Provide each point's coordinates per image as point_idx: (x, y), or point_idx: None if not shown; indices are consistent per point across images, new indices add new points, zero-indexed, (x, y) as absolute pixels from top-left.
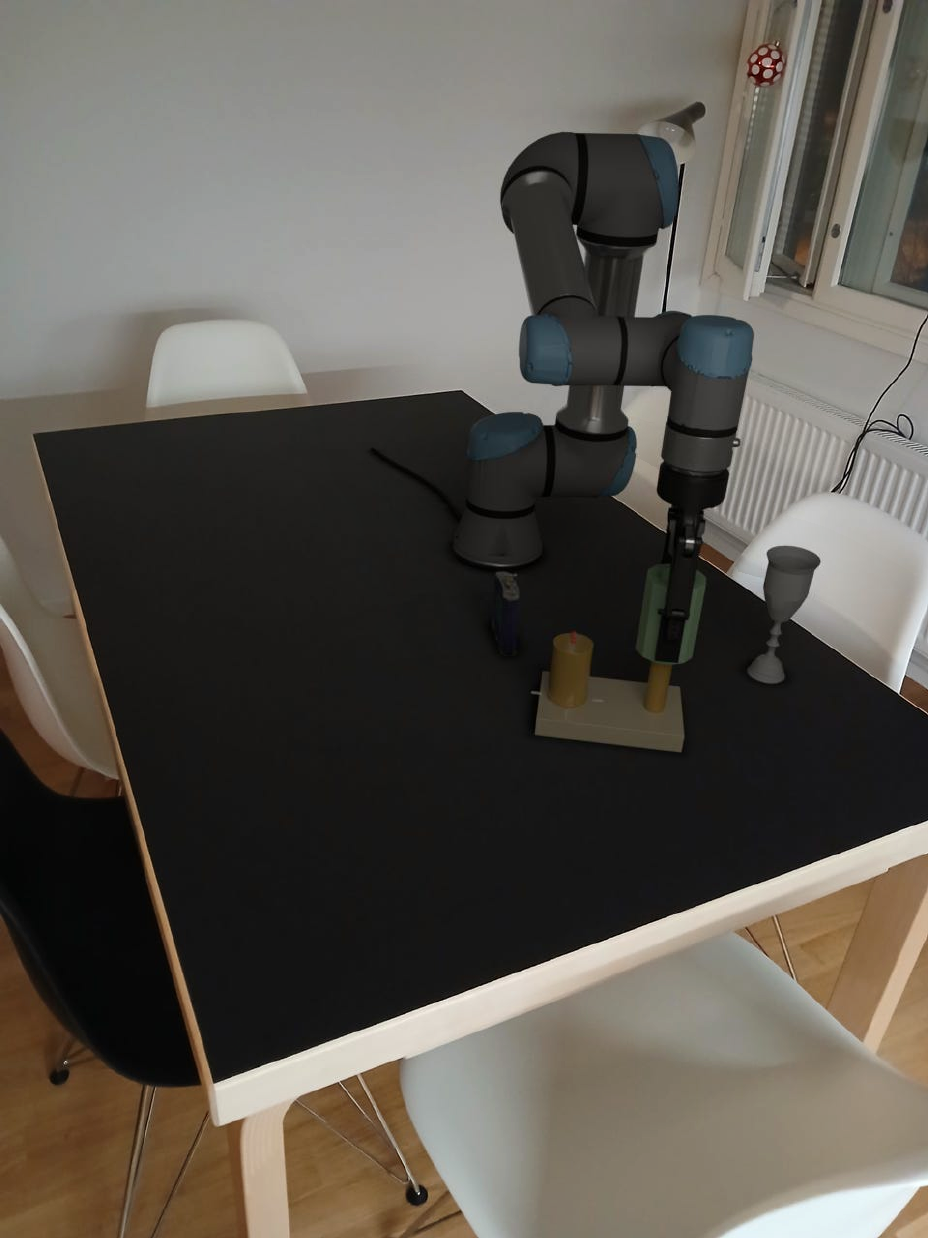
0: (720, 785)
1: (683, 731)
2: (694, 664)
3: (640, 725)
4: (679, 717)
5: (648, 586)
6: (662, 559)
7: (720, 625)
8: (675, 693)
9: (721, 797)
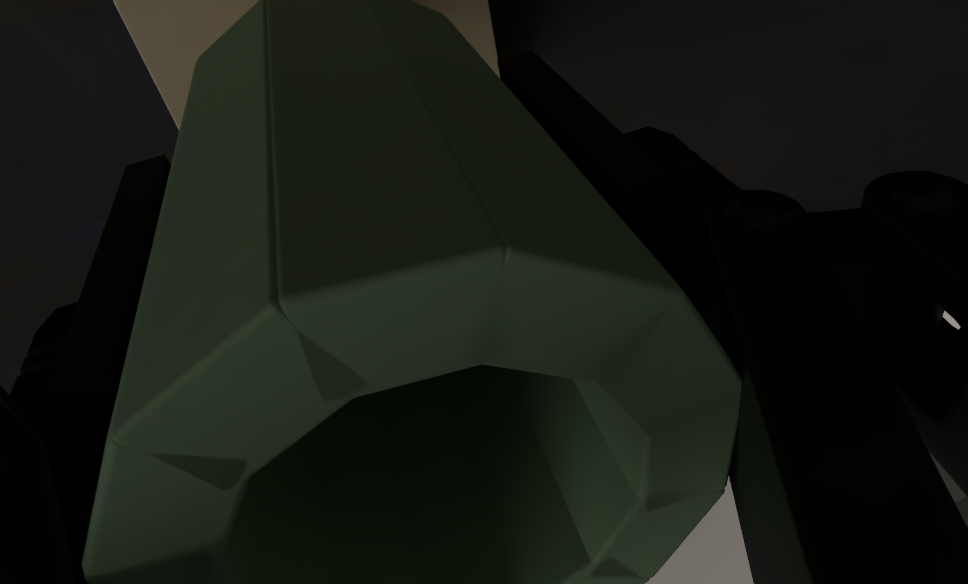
0: None
1: None
2: (720, 73)
3: (165, 19)
4: None
5: (207, 291)
6: (941, 208)
7: (943, 97)
8: None
9: (69, 296)
